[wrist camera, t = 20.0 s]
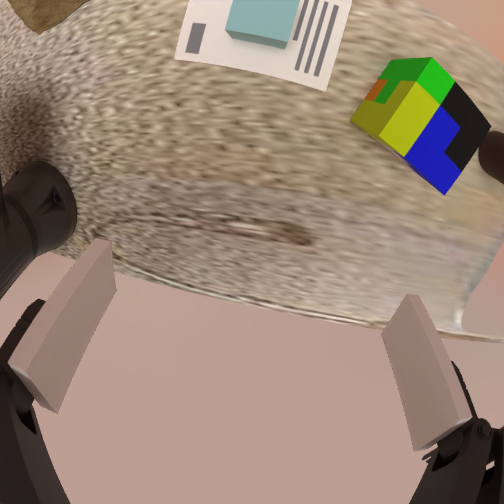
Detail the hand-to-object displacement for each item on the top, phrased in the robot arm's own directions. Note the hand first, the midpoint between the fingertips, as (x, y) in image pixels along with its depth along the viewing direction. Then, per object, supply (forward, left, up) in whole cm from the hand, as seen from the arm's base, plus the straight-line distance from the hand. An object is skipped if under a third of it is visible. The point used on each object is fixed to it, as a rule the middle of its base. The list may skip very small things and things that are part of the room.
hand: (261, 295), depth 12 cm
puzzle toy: (+11, +14, -26) cm, 31 cm away
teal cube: (-8, +14, -26) cm, 30 cm away
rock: (-35, +8, -26) cm, 44 cm away
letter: (-8, +14, -26) cm, 30 cm away
